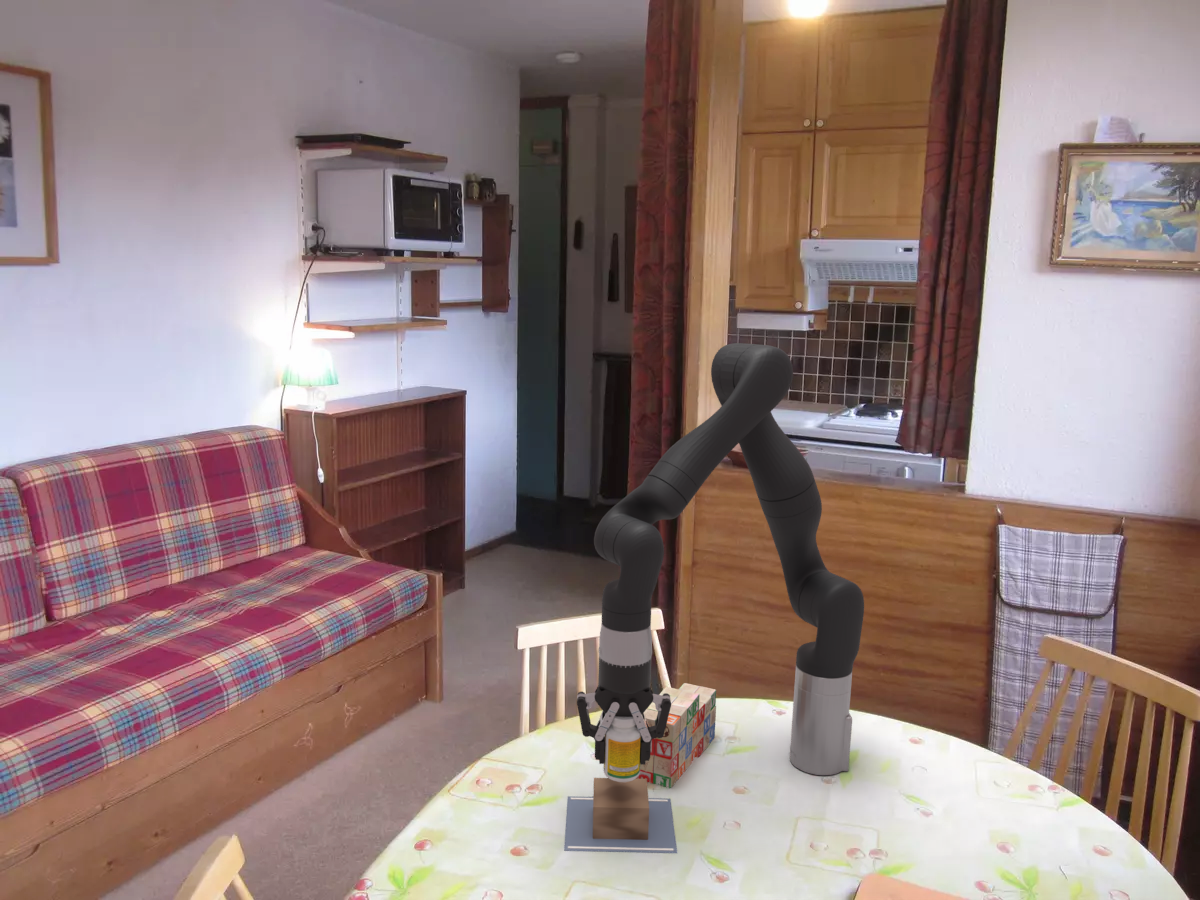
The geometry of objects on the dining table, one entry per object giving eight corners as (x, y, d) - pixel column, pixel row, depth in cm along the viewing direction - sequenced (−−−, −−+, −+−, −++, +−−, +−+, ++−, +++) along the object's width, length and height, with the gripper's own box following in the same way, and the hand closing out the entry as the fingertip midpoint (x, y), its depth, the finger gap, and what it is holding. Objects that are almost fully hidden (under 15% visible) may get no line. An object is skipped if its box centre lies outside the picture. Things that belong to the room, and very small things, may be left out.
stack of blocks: (682, 729, 173) (685, 666, 171) (715, 737, 171) (718, 673, 168) (634, 785, 154) (637, 714, 152) (670, 795, 152) (673, 723, 149)
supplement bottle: (597, 768, 142) (599, 708, 140) (629, 761, 144) (631, 702, 142) (613, 786, 137) (615, 724, 135) (646, 778, 139) (648, 717, 137)
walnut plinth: (645, 808, 146) (646, 778, 145) (648, 839, 138) (649, 808, 137) (593, 807, 146) (593, 777, 145) (592, 838, 138) (593, 807, 137)
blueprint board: (670, 804, 149) (670, 797, 149) (677, 859, 135) (677, 852, 135) (567, 802, 149) (567, 795, 149) (564, 856, 135) (564, 849, 135)
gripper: (673, 643, 140) (669, 749, 144) (575, 641, 140) (573, 747, 144) (677, 664, 133) (672, 776, 136) (574, 662, 133) (572, 774, 136)
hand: (622, 761), depth 140 cm, fingers closed on supplement bottle, 5 cm apart
